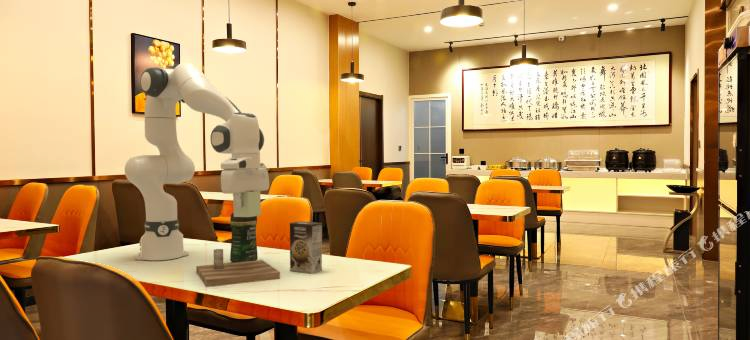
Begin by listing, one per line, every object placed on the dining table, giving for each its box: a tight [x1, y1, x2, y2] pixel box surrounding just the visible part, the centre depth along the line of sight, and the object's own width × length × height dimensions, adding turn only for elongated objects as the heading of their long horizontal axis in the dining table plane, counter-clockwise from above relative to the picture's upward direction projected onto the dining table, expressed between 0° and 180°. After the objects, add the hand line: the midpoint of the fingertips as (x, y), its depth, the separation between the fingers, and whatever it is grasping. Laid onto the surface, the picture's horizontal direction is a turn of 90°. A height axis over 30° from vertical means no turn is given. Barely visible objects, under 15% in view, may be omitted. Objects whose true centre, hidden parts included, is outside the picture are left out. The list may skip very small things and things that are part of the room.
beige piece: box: [232, 191, 262, 217], centre depth 167 cm, size 6×6×8 cm
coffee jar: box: [229, 211, 258, 263], centre depth 190 cm, size 10×8×19 cm
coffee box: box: [289, 220, 323, 274], centre depth 174 cm, size 9×6×16 cm
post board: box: [195, 248, 281, 288], centre depth 168 cm, size 22×22×8 cm
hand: (247, 206), depth 167 cm, fingers closed on beige piece, 6 cm apart
